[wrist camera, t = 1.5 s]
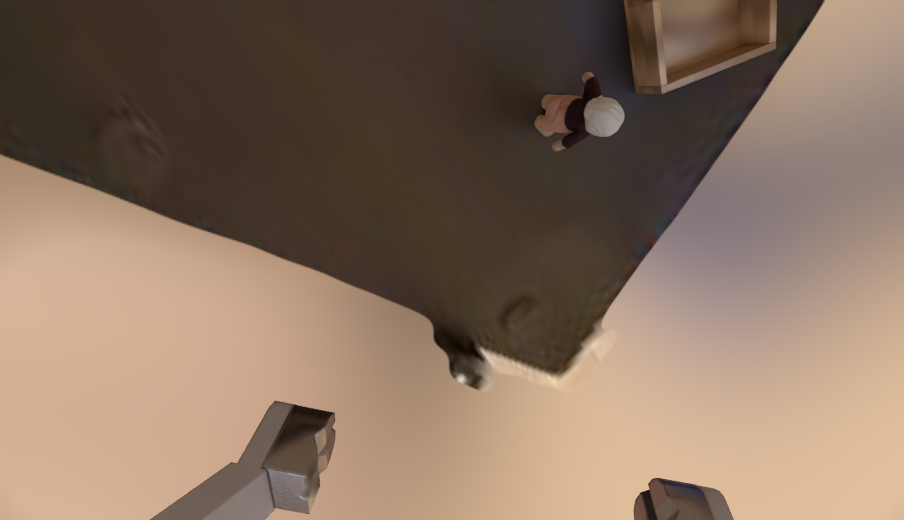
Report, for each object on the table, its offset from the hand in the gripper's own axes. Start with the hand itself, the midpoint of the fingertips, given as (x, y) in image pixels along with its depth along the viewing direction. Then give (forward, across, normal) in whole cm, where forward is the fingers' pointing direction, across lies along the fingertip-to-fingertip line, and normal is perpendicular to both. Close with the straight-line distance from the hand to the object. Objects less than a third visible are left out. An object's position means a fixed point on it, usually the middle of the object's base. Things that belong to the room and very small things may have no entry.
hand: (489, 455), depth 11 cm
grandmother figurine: (+43, -5, +2) cm, 43 cm away
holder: (+49, -18, -8) cm, 53 cm away
